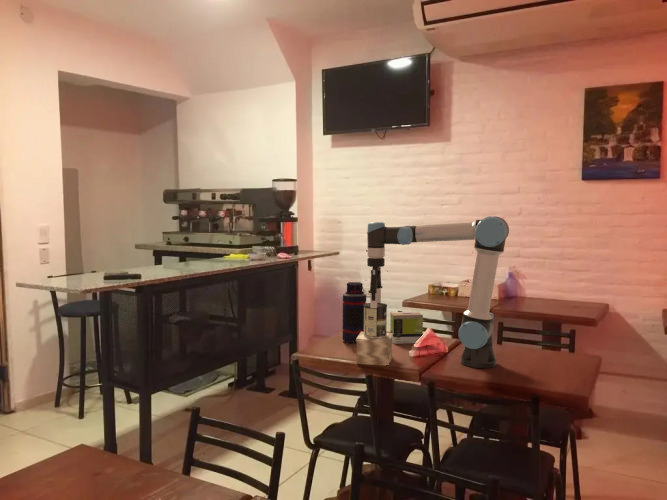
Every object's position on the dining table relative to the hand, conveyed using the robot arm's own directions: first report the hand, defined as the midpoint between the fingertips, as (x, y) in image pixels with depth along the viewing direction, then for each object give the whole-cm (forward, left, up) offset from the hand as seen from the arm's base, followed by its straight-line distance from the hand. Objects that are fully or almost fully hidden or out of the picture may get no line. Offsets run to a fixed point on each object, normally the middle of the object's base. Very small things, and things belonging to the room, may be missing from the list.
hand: (375, 305), depth 249 cm
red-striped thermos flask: (+15, -34, -25) cm, 45 cm away
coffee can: (0, 0, -14) cm, 14 cm away
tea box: (-11, -39, -25) cm, 48 cm away
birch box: (0, 0, -25) cm, 25 cm away
